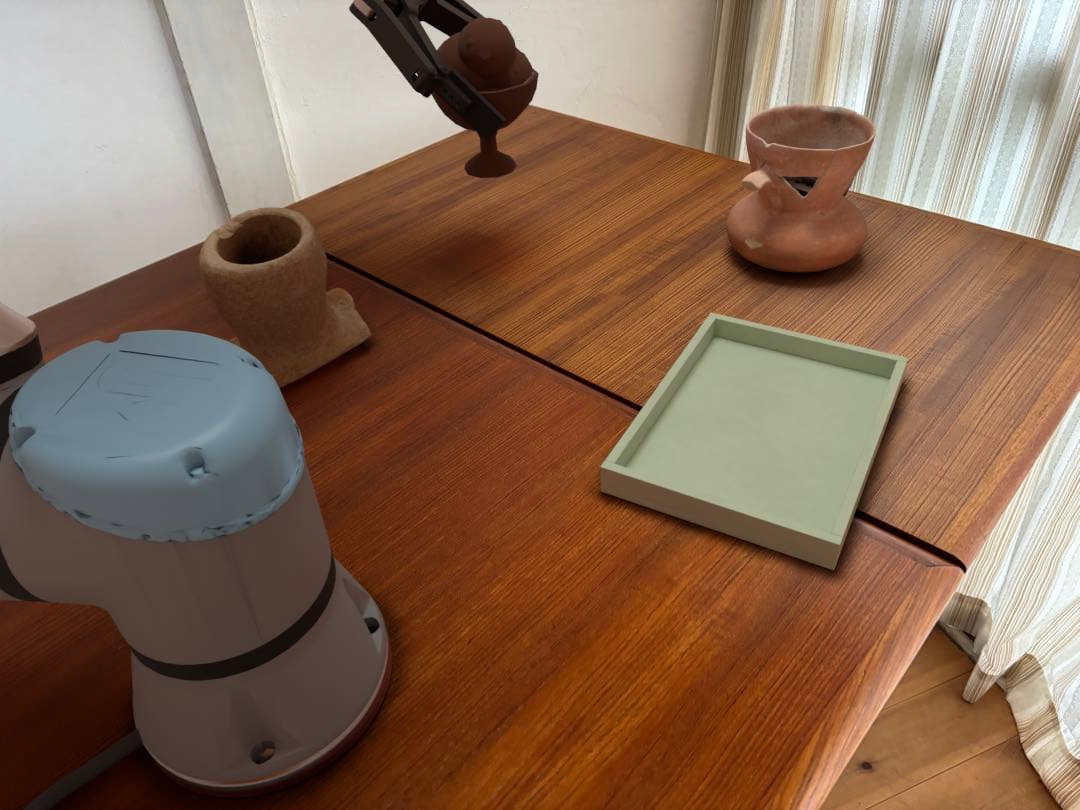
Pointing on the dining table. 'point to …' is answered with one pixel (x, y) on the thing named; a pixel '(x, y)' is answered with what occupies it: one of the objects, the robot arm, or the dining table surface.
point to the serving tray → (760, 436)
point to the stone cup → (279, 293)
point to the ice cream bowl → (489, 84)
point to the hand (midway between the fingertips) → (511, 109)
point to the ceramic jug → (801, 188)
